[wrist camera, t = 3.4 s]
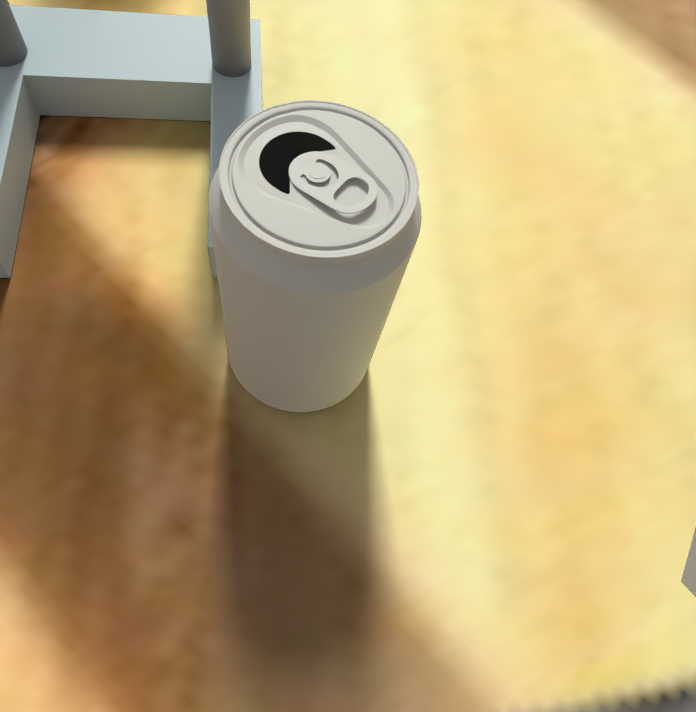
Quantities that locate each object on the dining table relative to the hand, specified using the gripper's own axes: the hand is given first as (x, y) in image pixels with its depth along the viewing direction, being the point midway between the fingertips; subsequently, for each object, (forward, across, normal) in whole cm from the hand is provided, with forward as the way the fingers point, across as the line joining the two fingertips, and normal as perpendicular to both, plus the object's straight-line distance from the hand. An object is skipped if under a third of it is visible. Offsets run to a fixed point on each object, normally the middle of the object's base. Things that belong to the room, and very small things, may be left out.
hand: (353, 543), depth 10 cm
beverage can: (+18, 0, -3) cm, 18 cm away
